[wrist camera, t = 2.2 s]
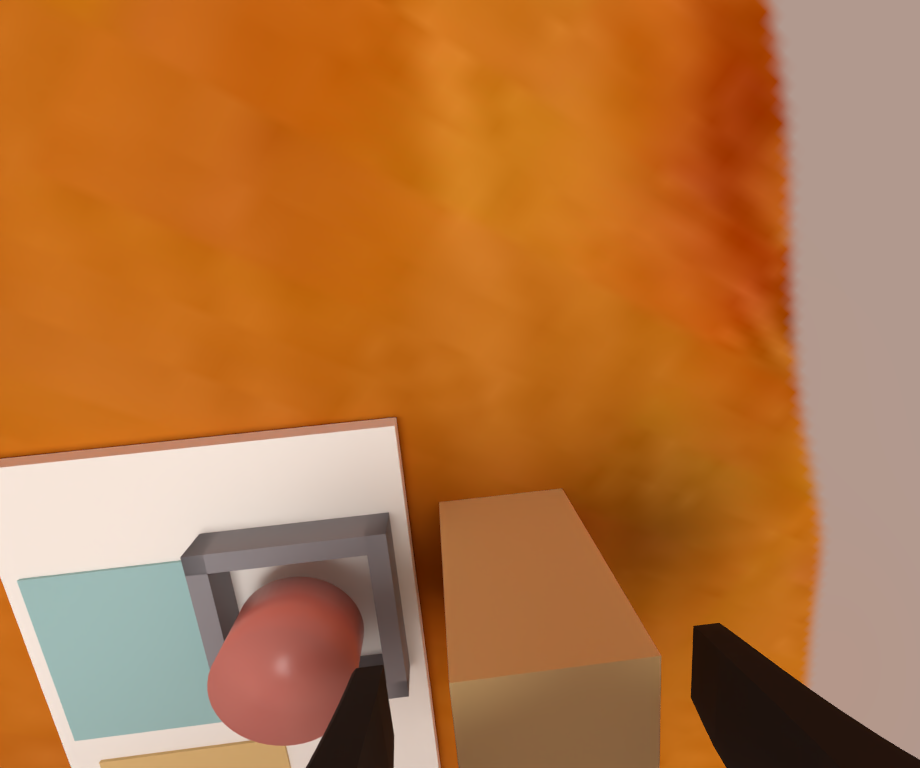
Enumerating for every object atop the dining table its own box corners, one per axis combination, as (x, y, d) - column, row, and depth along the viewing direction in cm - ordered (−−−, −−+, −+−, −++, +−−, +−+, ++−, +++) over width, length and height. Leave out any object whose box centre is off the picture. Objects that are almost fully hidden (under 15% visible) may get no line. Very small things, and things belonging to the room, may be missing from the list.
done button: (371, 673, 15) (363, 735, 13) (249, 689, 15) (223, 754, 13) (354, 569, 14) (343, 619, 12) (224, 584, 14) (192, 637, 12)
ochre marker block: (566, 594, 17) (658, 814, 10) (450, 608, 17) (467, 842, 10) (562, 488, 16) (661, 656, 9) (439, 502, 16) (449, 683, 9)
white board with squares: (455, 885, 20) (459, 952, 18) (152, 929, 20) (123, 1003, 18) (396, 417, 15) (392, 440, 13) (-15, 460, 15) (-82, 491, 13)
